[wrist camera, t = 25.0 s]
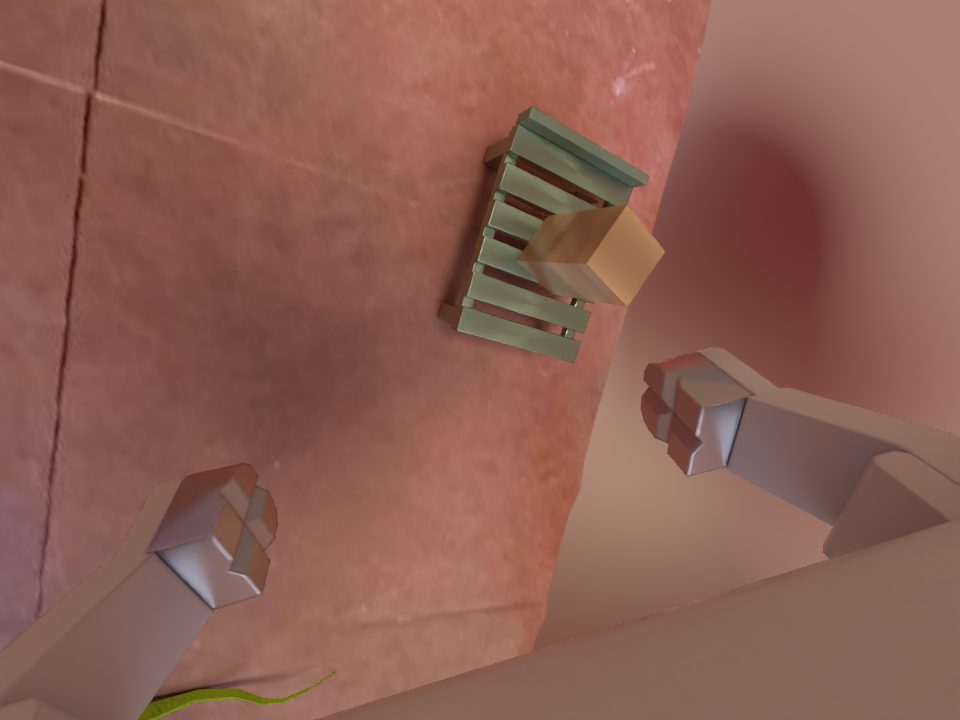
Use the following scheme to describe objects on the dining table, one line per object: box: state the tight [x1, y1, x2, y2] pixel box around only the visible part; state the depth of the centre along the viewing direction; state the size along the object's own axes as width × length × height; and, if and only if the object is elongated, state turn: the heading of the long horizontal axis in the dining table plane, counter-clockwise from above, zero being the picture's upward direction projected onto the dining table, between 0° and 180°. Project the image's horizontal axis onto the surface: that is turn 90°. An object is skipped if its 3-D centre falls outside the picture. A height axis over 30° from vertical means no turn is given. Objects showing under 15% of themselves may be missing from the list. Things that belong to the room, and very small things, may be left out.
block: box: [516, 205, 665, 307], centre depth 30 cm, size 4×4×9 cm
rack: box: [438, 106, 649, 363], centre depth 36 cm, size 17×12×8 cm
